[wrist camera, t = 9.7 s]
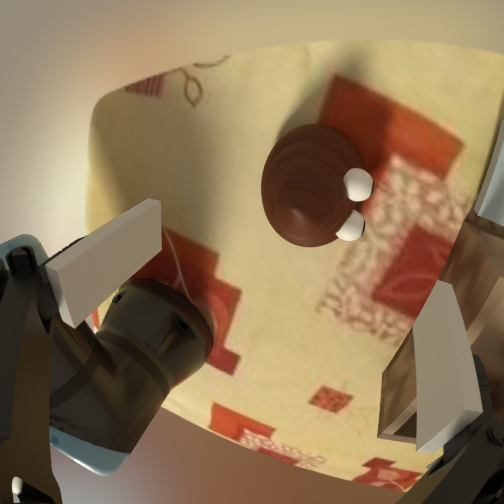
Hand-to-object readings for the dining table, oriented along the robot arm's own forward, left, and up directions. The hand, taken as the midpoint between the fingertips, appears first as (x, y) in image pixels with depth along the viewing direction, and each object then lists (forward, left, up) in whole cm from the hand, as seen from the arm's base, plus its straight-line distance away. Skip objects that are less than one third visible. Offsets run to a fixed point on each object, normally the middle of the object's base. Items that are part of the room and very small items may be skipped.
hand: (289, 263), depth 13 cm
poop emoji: (-1, 0, -14) cm, 14 cm away
